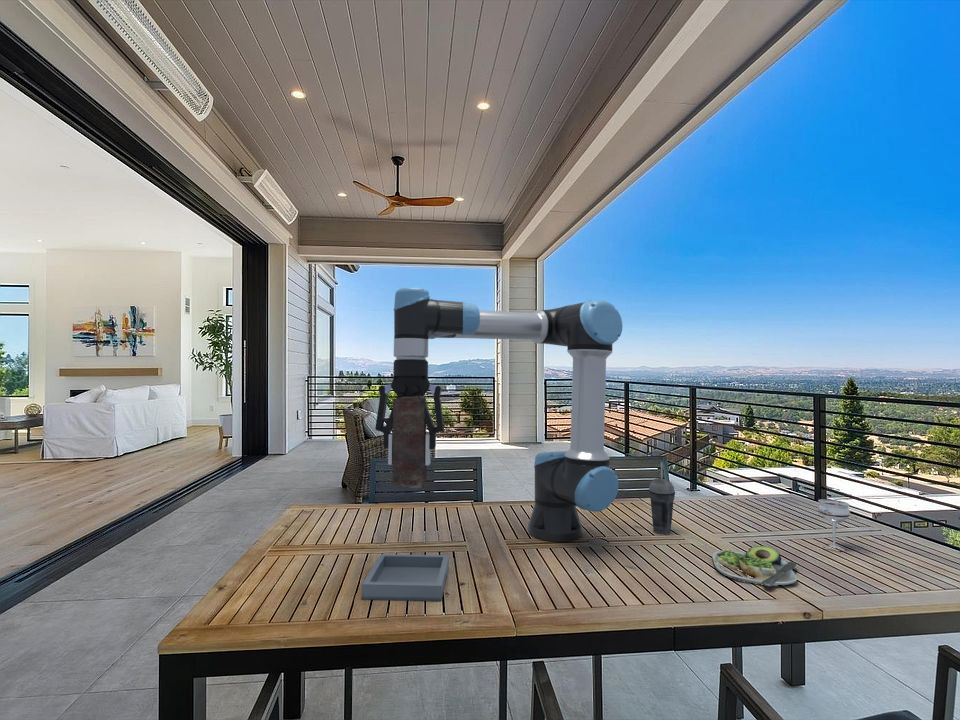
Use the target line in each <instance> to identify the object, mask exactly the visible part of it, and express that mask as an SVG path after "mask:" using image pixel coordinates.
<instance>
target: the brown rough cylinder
mask: <svg viewBox="0 0 960 720" xmlns="http://www.w3.org/2000/svg"><path fill="white" fill-rule="evenodd" d="M424 404H425V405H427V398H426V396H425V395H424V396H413V397H409V396H406V397H400V398H397V397H393V398H392V409H393V428H392V433H393V464H392V483H393V485H394V486H397V487H399V488H411V489H418V490H424V489H426V488H427V486H428V485H427V482H428V481H427V479H428V478H427V475H428V473H427V469H428V467H427V466H428V465H425V454H426V434H427V425H426V423H425V420H424Z"/></svg>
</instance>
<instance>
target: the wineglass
mask: <svg viewBox="0 0 960 720" xmlns="http://www.w3.org/2000/svg"><path fill="white" fill-rule="evenodd" d="M817 501H818V503H819V504H818V507H817V508H818V513H819V515H820V516H821V517H822V518H823V520H826V521H828V522H829V523H830V525H831V526H832V527H831V529H832V541H833V543H832V544H828V545H829V546H830V547H833V548H840V546H838V545H836V533H837V527H836V526H837V525H838V524H840V523H844V522H846V520H848V519H849V518H850V514H851V511H850V508H849V507H850V503H848V502H845V501H841V500H837V499H829V498H826V499H824V498H823V499H822V498H821V499H818V500H817Z"/></svg>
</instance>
